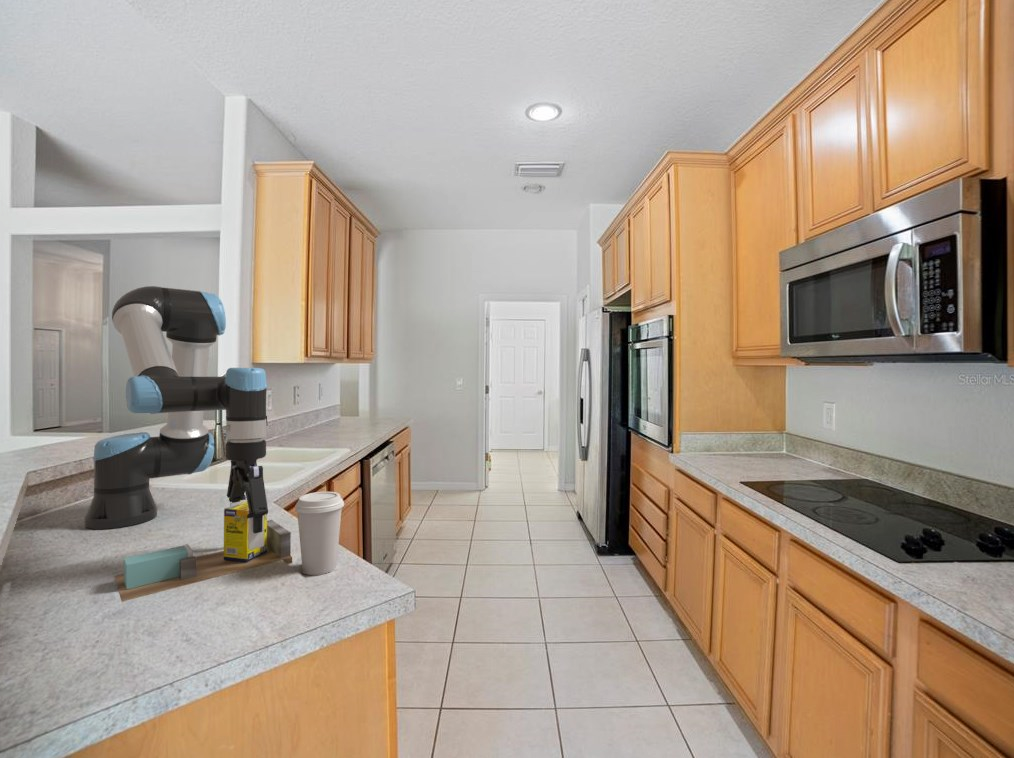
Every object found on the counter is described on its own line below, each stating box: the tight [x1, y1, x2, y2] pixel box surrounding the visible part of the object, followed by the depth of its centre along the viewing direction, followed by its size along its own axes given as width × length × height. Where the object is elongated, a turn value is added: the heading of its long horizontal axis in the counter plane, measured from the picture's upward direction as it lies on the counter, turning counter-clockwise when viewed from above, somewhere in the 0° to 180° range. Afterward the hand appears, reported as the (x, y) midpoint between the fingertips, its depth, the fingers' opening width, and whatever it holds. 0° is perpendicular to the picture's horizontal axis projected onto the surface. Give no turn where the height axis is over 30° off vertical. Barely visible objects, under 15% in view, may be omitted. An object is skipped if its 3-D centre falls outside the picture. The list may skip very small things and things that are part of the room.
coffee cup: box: [294, 491, 345, 576], centre depth 96 cm, size 10×10×15 cm
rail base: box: [114, 519, 293, 602], centre depth 94 cm, size 14×28×6 cm, turn 134°
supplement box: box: [223, 501, 268, 562], centre depth 99 cm, size 6×6×11 cm
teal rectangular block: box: [123, 543, 194, 589], centre depth 88 cm, size 5×10×5 cm, turn 134°
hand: (246, 539), depth 99 cm, fingers open, 13 cm apart
